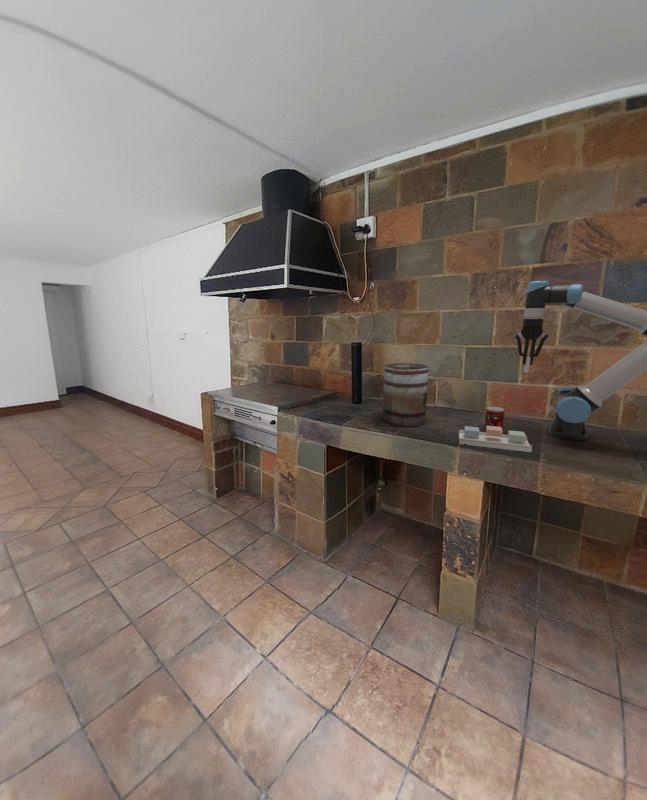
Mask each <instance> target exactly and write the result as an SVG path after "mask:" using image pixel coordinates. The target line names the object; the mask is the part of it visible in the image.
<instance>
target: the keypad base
mask: <svg viewBox="0 0 647 800" xmlns="http://www.w3.org/2000/svg"><path fill="white" fill-rule="evenodd" d="M458 431H459V432H458V444H459V445H464V444H466V445H465V446H474V447H484V448H491V449H499V450H506V451H507V450H508V451H515V452H516V451H518V452H525V453H532V451H533V445H531V444H530V443H529V441H528V436H526V442H520V441H511V440H509V438H508V434H502V437H500V436H491V435H487V434H486V432H483V431H480V433H479V437H474V436H465V435H464V429H459V430H458Z"/></svg>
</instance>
